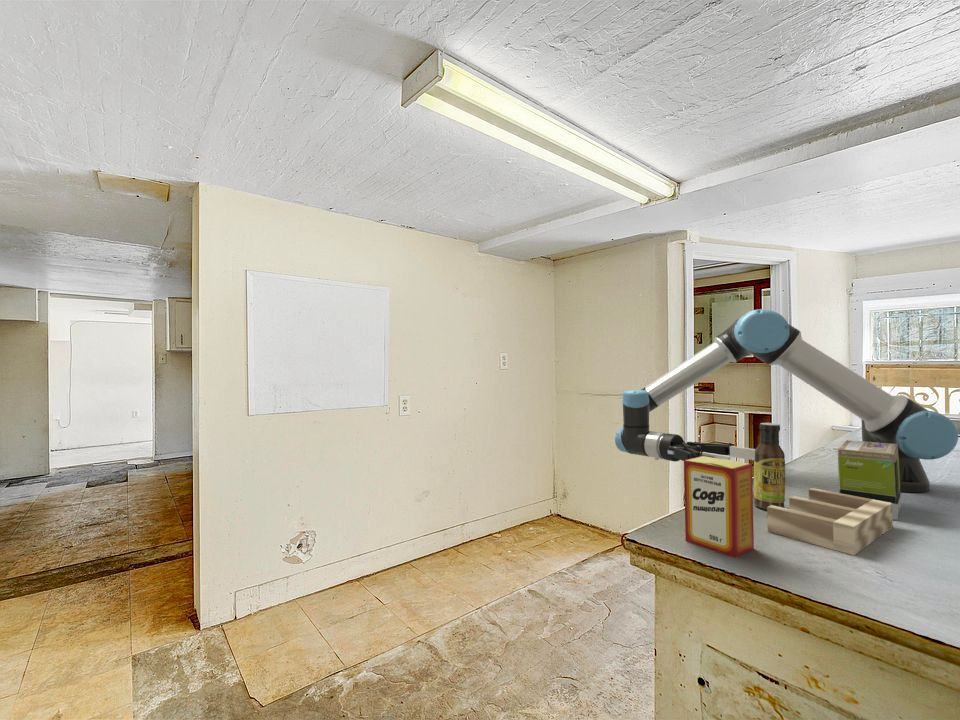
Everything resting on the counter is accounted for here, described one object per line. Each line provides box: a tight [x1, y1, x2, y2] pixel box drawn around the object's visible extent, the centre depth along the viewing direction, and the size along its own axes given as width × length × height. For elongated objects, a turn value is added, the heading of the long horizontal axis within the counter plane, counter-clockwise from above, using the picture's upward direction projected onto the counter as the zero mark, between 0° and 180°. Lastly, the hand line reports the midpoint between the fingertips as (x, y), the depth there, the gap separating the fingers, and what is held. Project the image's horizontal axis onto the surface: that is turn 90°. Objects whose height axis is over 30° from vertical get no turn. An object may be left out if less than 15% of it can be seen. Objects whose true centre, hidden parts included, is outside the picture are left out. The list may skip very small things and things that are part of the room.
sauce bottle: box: [753, 422, 786, 510], centre depth 106 cm, size 6×6×20 cm
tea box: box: [837, 440, 902, 521], centre depth 104 cm, size 15×10×15 cm
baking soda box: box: [683, 456, 755, 558], centre depth 85 cm, size 10×6×16 cm
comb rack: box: [766, 487, 894, 556], centre depth 91 cm, size 23×14×5 cm, turn 125°
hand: (743, 458), depth 110 cm, fingers open, 13 cm apart
